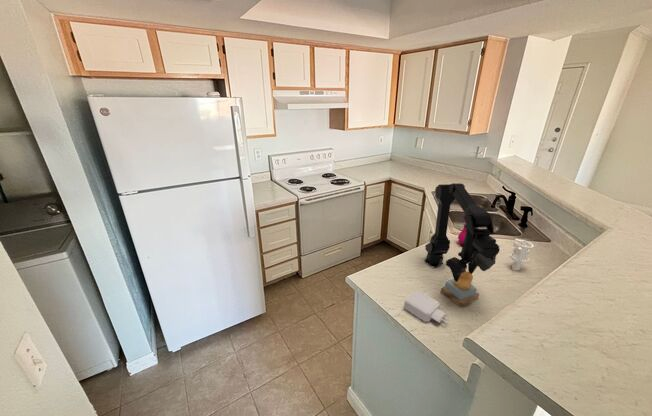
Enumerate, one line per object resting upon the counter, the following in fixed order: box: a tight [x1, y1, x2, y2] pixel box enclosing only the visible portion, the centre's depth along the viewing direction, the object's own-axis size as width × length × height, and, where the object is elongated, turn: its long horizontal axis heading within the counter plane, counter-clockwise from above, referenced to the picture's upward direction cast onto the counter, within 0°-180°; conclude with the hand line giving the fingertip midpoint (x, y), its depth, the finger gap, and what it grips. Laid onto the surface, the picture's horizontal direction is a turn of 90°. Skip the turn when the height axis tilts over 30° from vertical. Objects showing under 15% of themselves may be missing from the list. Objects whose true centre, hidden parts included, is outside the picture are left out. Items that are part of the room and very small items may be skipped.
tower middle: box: [444, 278, 478, 300], centre depth 107 cm, size 8×8×3 cm
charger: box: [403, 289, 451, 324], centre depth 98 cm, size 5×9×15 cm
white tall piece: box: [509, 238, 534, 272], centre depth 124 cm, size 7×7×15 cm
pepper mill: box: [457, 219, 466, 247], centre depth 143 cm, size 7×7×20 cm
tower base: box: [440, 285, 480, 309], centre depth 108 cm, size 10×10×3 cm
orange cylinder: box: [454, 270, 474, 290], centre depth 105 cm, size 6×6×5 cm
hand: (463, 277), depth 105 cm, fingers open, 9 cm apart
